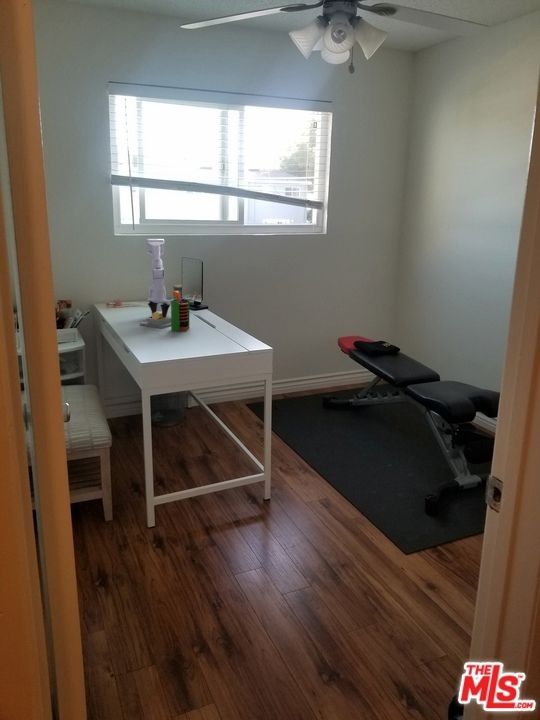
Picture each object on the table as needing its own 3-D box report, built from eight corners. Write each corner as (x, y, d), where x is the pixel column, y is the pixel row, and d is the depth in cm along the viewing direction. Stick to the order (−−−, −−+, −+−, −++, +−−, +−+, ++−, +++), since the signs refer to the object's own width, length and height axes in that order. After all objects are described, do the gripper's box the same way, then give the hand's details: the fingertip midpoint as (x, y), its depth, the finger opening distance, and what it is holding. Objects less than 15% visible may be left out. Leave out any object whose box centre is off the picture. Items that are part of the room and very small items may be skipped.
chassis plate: (157, 320, 303) (157, 314, 302) (178, 323, 296) (178, 317, 295) (140, 325, 291) (140, 318, 290) (162, 328, 284) (161, 321, 283)
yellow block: (162, 320, 298) (161, 309, 296) (167, 321, 296) (167, 310, 294) (151, 323, 290) (150, 312, 288) (156, 324, 288) (156, 312, 287)
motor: (184, 332, 276) (184, 293, 271) (168, 331, 278) (167, 292, 273) (191, 328, 286) (190, 290, 281) (175, 327, 288) (174, 289, 282)
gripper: (143, 291, 288) (144, 316, 292) (164, 293, 282) (165, 319, 285) (152, 289, 294) (152, 314, 298) (173, 291, 288) (173, 317, 291)
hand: (159, 316), depth 292 cm, fingers open, 6 cm apart
